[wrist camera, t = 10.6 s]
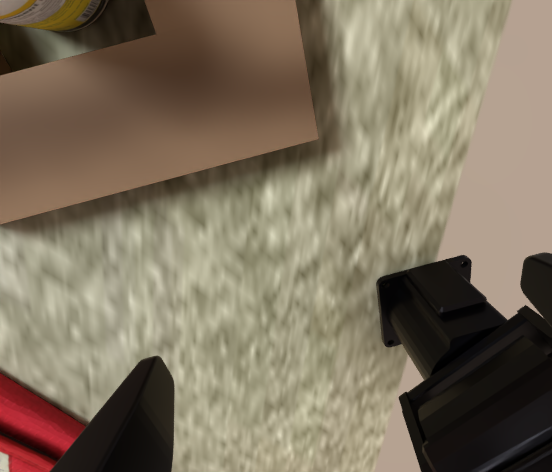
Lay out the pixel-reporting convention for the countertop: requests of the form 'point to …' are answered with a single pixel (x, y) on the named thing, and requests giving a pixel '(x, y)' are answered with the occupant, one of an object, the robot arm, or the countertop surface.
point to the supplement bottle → (51, 13)
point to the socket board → (154, 105)
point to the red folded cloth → (32, 430)
